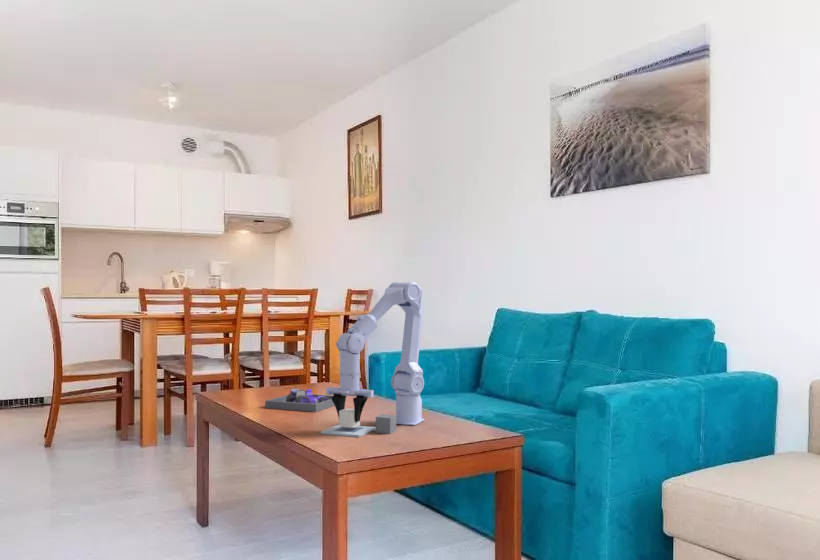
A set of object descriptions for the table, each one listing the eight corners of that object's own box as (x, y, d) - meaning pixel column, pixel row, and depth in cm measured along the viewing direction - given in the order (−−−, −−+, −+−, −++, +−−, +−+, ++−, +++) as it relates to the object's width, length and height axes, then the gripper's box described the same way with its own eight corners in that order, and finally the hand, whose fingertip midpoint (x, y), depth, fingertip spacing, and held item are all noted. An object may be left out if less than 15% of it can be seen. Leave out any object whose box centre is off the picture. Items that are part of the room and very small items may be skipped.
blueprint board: (339, 426, 199) (339, 423, 199) (376, 429, 195) (376, 426, 195) (321, 433, 188) (321, 431, 188) (359, 437, 184) (359, 434, 184)
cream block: (345, 423, 195) (346, 408, 195) (360, 424, 193) (360, 409, 193) (339, 426, 191) (339, 410, 191) (353, 427, 189) (353, 411, 189)
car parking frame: (294, 399, 248) (294, 392, 248) (342, 403, 241) (342, 396, 241) (265, 407, 230) (265, 400, 230) (315, 412, 223) (316, 404, 223)
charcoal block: (381, 429, 195) (382, 414, 195) (396, 431, 193) (396, 415, 193) (375, 432, 191) (375, 417, 191) (390, 434, 189) (390, 418, 189)
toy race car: (335, 406, 236) (335, 388, 236) (297, 410, 227) (298, 391, 227) (323, 402, 244) (323, 385, 244) (285, 406, 235) (286, 388, 235)
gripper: (321, 374, 191) (320, 421, 191) (366, 377, 186) (366, 425, 185) (332, 371, 197) (331, 417, 197) (376, 374, 192) (376, 420, 192)
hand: (349, 420), depth 192 cm, fingers closed on cream block, 4 cm apart
